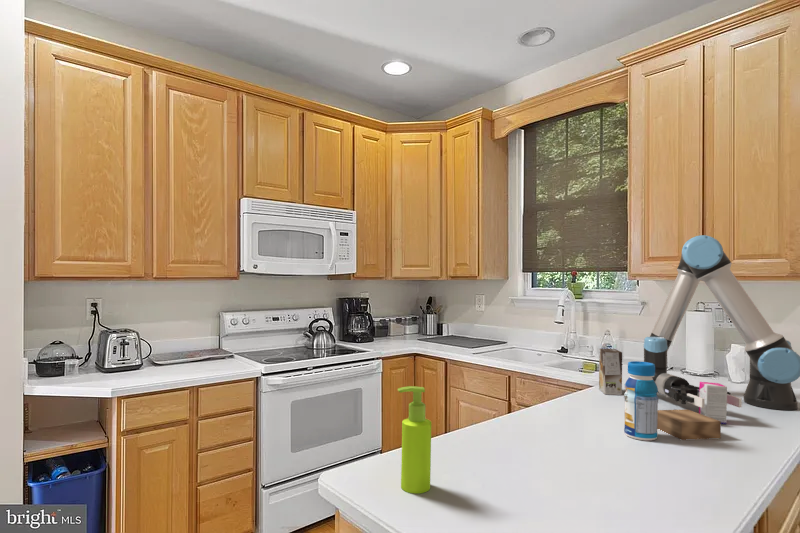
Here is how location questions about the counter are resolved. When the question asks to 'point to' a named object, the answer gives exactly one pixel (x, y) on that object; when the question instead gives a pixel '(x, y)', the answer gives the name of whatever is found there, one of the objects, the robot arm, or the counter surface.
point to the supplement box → (714, 400)
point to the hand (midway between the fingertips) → (722, 403)
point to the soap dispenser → (416, 445)
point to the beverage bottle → (641, 402)
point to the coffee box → (610, 371)
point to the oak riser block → (688, 424)
